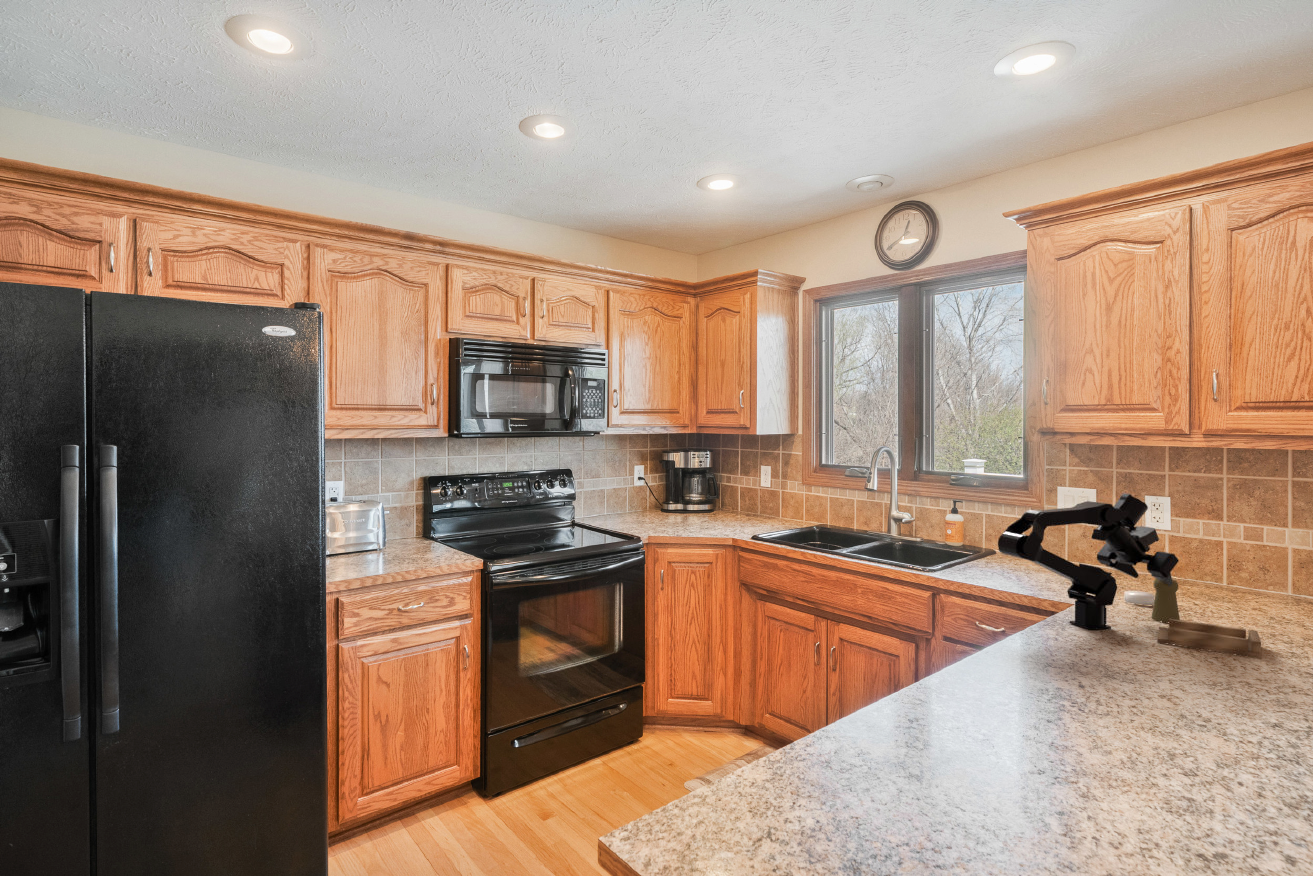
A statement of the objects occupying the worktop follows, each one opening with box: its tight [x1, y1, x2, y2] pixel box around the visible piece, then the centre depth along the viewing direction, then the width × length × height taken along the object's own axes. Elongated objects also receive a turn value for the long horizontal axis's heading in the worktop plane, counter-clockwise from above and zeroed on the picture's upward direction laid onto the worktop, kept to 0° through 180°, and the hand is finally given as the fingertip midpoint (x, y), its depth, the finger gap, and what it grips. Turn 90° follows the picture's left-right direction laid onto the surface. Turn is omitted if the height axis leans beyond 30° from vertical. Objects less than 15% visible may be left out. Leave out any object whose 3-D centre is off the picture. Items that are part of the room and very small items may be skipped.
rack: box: [1156, 619, 1262, 660], centre depth 155 cm, size 18×12×4 cm, turn 52°
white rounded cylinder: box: [1123, 590, 1155, 605], centre depth 193 cm, size 7×7×3 cm
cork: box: [1150, 578, 1181, 623], centre depth 175 cm, size 6×6×11 cm
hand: (1153, 580), depth 174 cm, fingers open, 9 cm apart
